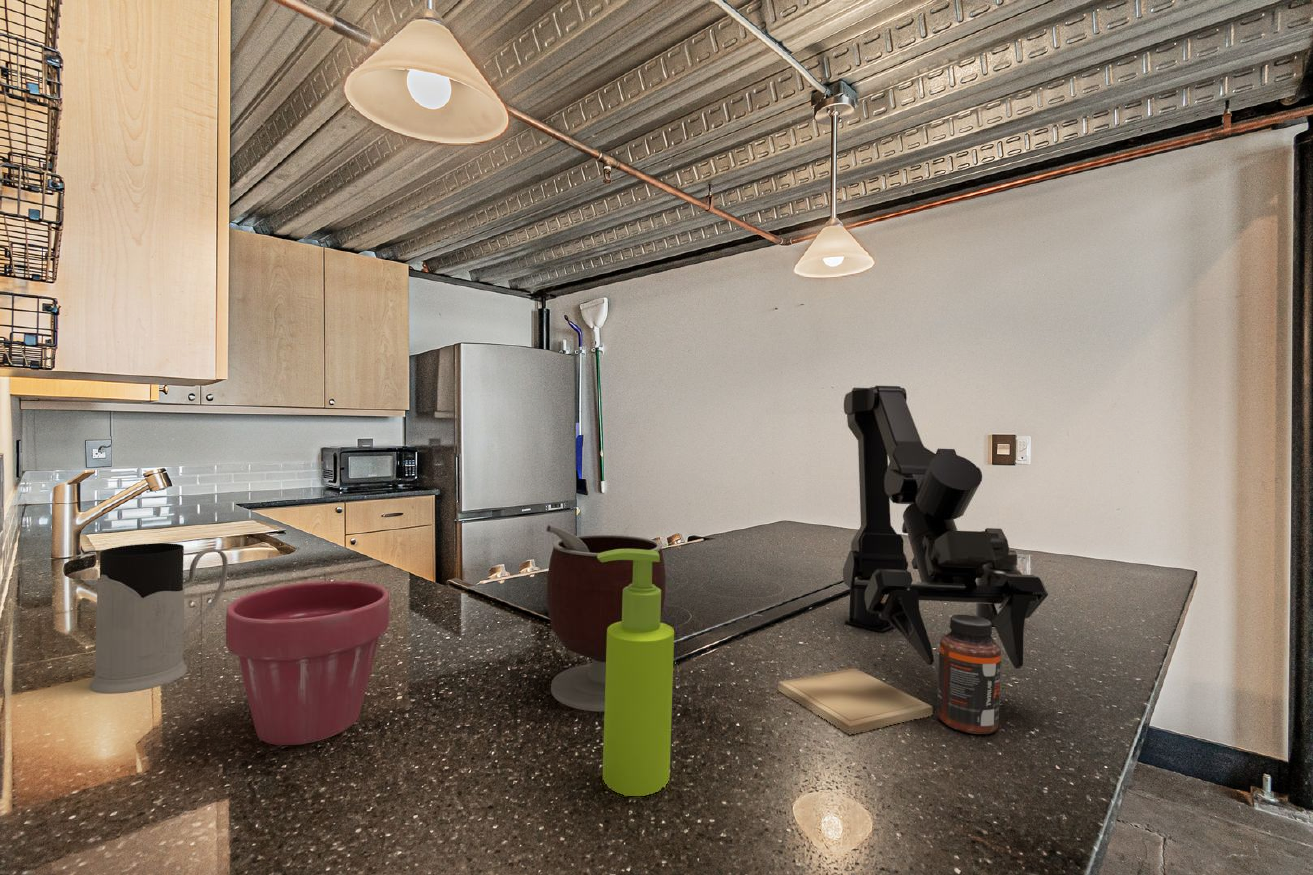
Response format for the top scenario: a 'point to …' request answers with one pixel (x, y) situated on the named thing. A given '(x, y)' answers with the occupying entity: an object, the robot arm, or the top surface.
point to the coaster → (854, 700)
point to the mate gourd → (590, 606)
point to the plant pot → (306, 655)
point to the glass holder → (143, 616)
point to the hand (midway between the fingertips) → (975, 665)
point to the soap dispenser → (638, 685)
